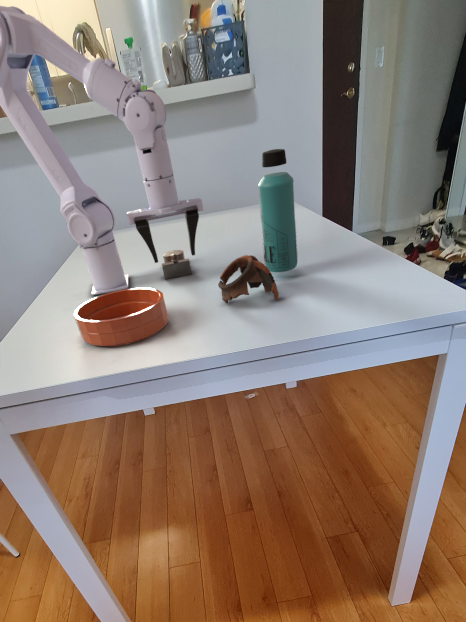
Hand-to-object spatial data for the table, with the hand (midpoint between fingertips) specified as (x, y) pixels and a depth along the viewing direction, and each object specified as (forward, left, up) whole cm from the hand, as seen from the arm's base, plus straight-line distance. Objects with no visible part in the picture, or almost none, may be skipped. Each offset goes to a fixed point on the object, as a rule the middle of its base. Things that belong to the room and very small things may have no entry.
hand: (174, 257), depth 93 cm
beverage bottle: (+9, +20, -5) cm, 22 cm away
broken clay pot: (+19, +12, -5) cm, 23 cm away
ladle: (-7, 0, -5) cm, 8 cm away
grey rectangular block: (-5, 0, -5) cm, 7 cm away
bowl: (+22, -11, -5) cm, 25 cm away
